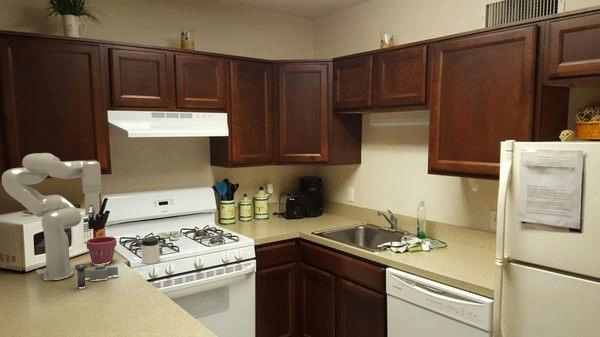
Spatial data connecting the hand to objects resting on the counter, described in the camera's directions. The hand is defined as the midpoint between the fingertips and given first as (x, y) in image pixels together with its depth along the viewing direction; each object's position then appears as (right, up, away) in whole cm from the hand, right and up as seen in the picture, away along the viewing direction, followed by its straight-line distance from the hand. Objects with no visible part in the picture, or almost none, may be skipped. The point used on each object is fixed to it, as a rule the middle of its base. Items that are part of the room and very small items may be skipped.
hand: (94, 226), depth 188 cm
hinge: (0, -25, +6) cm, 26 cm away
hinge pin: (-2, -26, -6) cm, 27 cm away
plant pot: (-10, -24, +29) cm, 39 cm away
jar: (+14, -23, +33) cm, 42 cm away
